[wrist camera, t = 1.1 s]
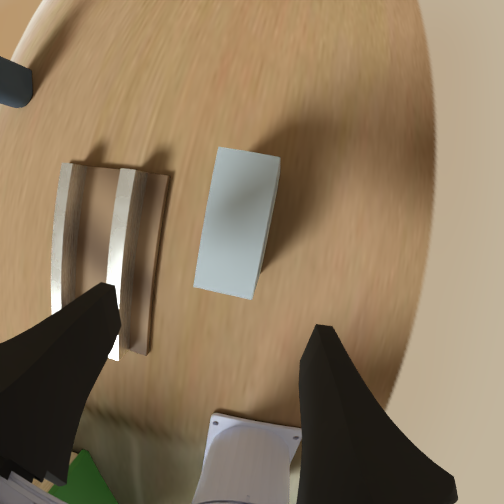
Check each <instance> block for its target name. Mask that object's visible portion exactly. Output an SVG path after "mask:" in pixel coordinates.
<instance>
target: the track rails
mask: <svg viewBox="0 0 504 504" xmlns="http://www.w3.org/2000/svg"><path fill="white" fill-rule="evenodd" d="M87 168H88V166H84V165H78V164H73V163H62V166H61V171H60V177H59V183H58V190H57V197H56V205H55V214H54V225H53V237H52V256H51V306H52V315H53V314H54V313H56V312H57V311H59V310H60V309H62V308H63V307H65V306H66V305H68V304H69V303H70V302H72V301H73V300H75V282H76V258H77V244H78V232H79V222H80V213H81V206H82V198H83V191H84V185H85V179H86V173H87ZM147 178H148V173H147V172H143V171H139V170H133V169H125V168H121V169H120V174H119V180H118V186H117V191H116V198H115V204H114V211H113V218H112V226H111V234H110V244H109V254H108V266H107V280H106V283H107V284H111V285H115V287H116V294H117V301H118V307H119V313H120V319H121V324H122V326H121V329H120V331H119V334H118V337H117V339H116V342H115V344H114V347H113V349H112V351H111V353H110V355H109V358H112V359H114V360H117V361H119V360H120V359H121V358H122V357H123V356H124V355H125V354H126V353H127V352H128V351H129V348H130V320H131V303H132V290H133V278H134V268H135V258H136V249H137V241H138V234H139V226H140V219H141V213H142V206H143V200H144V194H145V189H146V183H147Z"/></svg>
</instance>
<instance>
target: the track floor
mask: <svg viewBox="0 0 504 504" xmlns="http://www.w3.org/2000/svg"><path fill="white" fill-rule="evenodd" d="M119 174H120V169H111V168H101V167H91V166H88V168H87V173H86V179H85V185H84V191H83V198H82V206H81V213H80V222H79V232H78V244H77V258H76V282H75V299H76V298H78V297H79V296H81V295H82V294H84V293H85V292H86V291H88V290H89V289H91V288H92V287H94V286H95V285H97V284H99V283H100V282H104V283H106V280H107V266H108V254H109V244H110V234H111V226H112V218H113V211H114V204H115V198H116V191H117V186H118V180H119ZM169 181H170V176H167V175H160V174H153V173H148V178H147V183H146V189H145V194H144V200H143V206H142V213H141V219H140V226H139V234H138V241H137V249H136V258H135V268H134V278H133V290H132V303H131V320H130V348H129V350H130V351H133V352H136V353H139V354H142V355H145V356H147V355H148V353H149V338H150V324H151V312H152V301H153V290H154V281H155V272H156V264H157V256H158V249H159V242H160V235H161V228H162V222H163V215H164V209H165V203H166V198H167V192H168V187H169Z"/></svg>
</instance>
